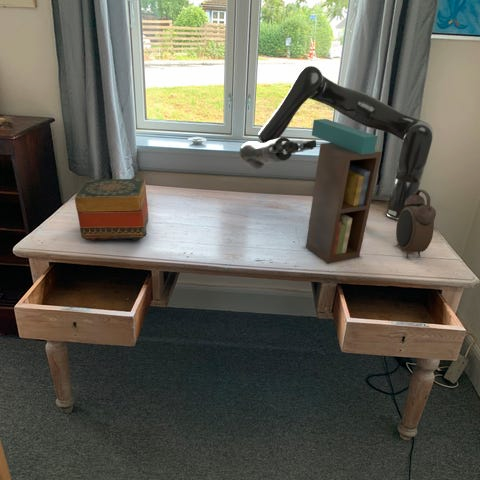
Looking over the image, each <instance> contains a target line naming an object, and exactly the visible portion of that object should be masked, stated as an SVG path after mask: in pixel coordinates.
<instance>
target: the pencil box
mask: <svg viewBox="0 0 480 480" xmlns="http://www.w3.org/2000/svg"><path fill="white" fill-rule="evenodd" d="M311 136H312V137H315V138H317V139H320V140H323V141H325V142H327V143H333V144H335V145H338V146H340V147H343V148H346V149H348V150H351V151H353V152H356V153H358V154H361V155H362V154H372V153H374V152H375V149H376V147H377V142H378V135H375V134H372V133H370V132H366V131H363V130H360V129H358V128H355V127H351V126H349V125H345V124H343V123H339V122H337V121H333V120H331V119H328V118H319V119H313V122H312V129H311Z"/></svg>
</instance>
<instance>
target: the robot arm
mask: <svg viewBox="0 0 480 480" xmlns="http://www.w3.org/2000/svg"><path fill="white" fill-rule="evenodd" d="M308 99H309V100H312V101H314V102H315V101H316V102H318V103H321V104H324V105H326V106H329V107H331V108H332V109H333V110H335V111H337V112H338V113H340V114H341V115H343V116H345V117H347V118H348V119H350V120H351V121H354V122H356V123H358V124H360V125H362V126H364V127H366V128H369V129H373V130H377V131H381V132H386V133H388V134H391V135H393V136H395V137H397V138H398V139H400V140H401V141H402V142H401V148H400V152H399V156H398V162H397V167H396V169H395V170H396V171H395V175H394V179H393V183H392V188H391V192H390V196H389V200H388V205H387V208H386V212H385V216H386V217H388V218H389V219H392V220H395V221H398V218H399V215H400V213H401V211H402V210H403V209H404V208H405V207H406V206H405V202H406V199H407V198H408V197H410V196H413V195H414V192H417V191H418V190H420V187H421V183H422V179H423V175H424V172H425V169H426V165H427V161H428V158H429V154H430V150H431V147H432V143H433V138H434V129H433V127H432V125H431V124H430V123H429V122H427V121H424V120H422V119H418V118H416V117H413V116H410V115H407V114H405V113H402V112H400V111H399V110H396V109H395V108H393V107H392V106H390V105H388V104H386V103H385V102H383V101H381V100H380V99H377V98H375V97H374V96H371V94H370V95H369V94H368V93H365V92H363V91H360V90H357V89H353V88H349V87H345V86H341V85H339V84H338V83H335V82H333V81H332V80H330V79H329V78H327V77H326V76H324V75H323V73H322V71H321V70H320V69H319V68H318V67H316V66H313V65H309V66H306V67H304V68H302V69H301V70H300V71H299V73H298V74H297V76H296V78H295V80H294V82H293V84H292V85H291V88H290V89H289V91H288V93H287V94H286V95H285V97H284V99H283V100H282V102H281V103H280V105H279V106H278V107H277V108H276V110H275V111H274V112H273V113H272V115H271V116H270V117H269V119H268V120H267V121H266V123H265V124H264V125H263V127H262V128H261V129H260V131H258V134H257V138H258V139H259V141H253V140H250V141H247V142H245V143H243V144H242V145H241V147H240V148H239V157H240V159H241V160H242V161H243V162H244V163H246V164H247V165H249V166H250V167H251V168H252V169H254V170H261V169H262V168H263V167H264V166H265V165H266V164H269V163H279V162H285V161H287V160H289V159H290V158H291V157H292V155H295V154H296V153H303V152H305V151H311V150H314V149H315V148H317V140H316V139H313V140H306V141H304V140H296V141H295V140H290V139H289V138H287V137H285V136H283V134H284V133H285V131H286V130H287V128H288V127H289V125H290V123H291V122H292V120H293V118H294V117H295V115H296V113H297V112H298V111H299V109H300V108H301V107H302V106H303V104H305V102H306V101H307V100H308Z"/></svg>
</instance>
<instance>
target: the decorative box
mask: <svg viewBox="0 0 480 480" xmlns="http://www.w3.org/2000/svg"><path fill="white" fill-rule="evenodd" d="M74 202H75V208H76V212H77V213H76V214H77V218H78V223H79V228H80V230H79V231H80V236H81V238H82V239H84V240H86V241H94V242H96V241H106V240H119V239H126V240H127V239H132V240H133V241H137V240H141V239H143V238H145V237H146V236H147V234H148V232H147V230H146V229H147V225H148V222H149V208H148V197H147V185H146V179H145V178H117V179H116V178H113V179H109V178H107V179H106V178H104V179H86V180H85V181H84V183H83V185H82V186H81V187H80V189H79V190H78V191H77V193H76V195H75V196H74Z"/></svg>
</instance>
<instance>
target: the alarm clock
mask: <svg viewBox="0 0 480 480" xmlns="http://www.w3.org/2000/svg"><path fill="white" fill-rule="evenodd" d="M420 194H423V195H424V196H425V198H426V200H425V198H424V197H423V196H421V195H420ZM425 201H426V202H425ZM405 206H406V207H405V208H404V209H403V210H402V211H401V213H400V215H399V218H398V220H396V227H395V228H396V229H395V236H396V237H395V239H396V242H397V244H396V247H399V250H401V251H402V252H405V253H406V259H409V255H410V253H417V254H418V257H419V258H420V257H421V252H425V251H426V250H427V249H428V248H429V246H430V244H431V242H432V239H433V236H434V232H435V231H434V230H435V220H436V216H437V211H436V209H435V208H434V207H433V206H432V205H431V195H430V194H429V193H428V192H427V191H426V190H424V189H419V190H418V191H417V192H414V195H413V196H410V197H408V198H407V199H406V202H405Z"/></svg>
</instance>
